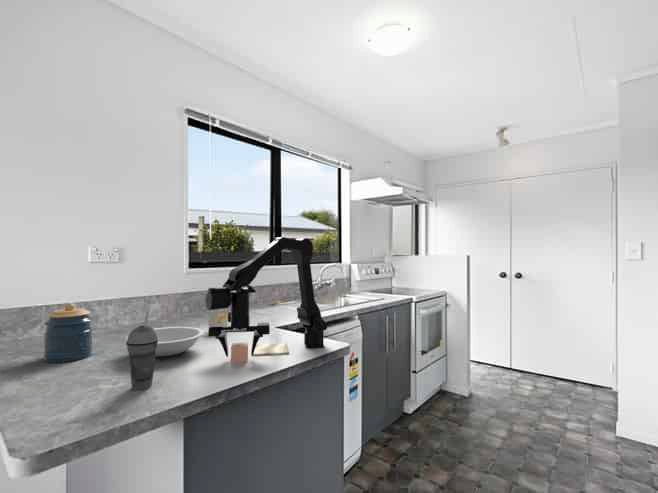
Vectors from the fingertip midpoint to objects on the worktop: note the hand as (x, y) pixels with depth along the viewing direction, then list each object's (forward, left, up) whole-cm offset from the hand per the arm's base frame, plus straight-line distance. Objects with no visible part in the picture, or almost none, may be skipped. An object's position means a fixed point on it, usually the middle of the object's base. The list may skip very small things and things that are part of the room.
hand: (239, 356), depth 113 cm
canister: (+55, -12, -2) cm, 56 cm away
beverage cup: (+23, +19, -1) cm, 30 cm away
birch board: (-10, -10, -1) cm, 14 cm away
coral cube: (0, 0, -1) cm, 1 cm away
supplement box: (+12, -43, -2) cm, 45 cm away
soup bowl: (+25, -11, -2) cm, 27 cm away
